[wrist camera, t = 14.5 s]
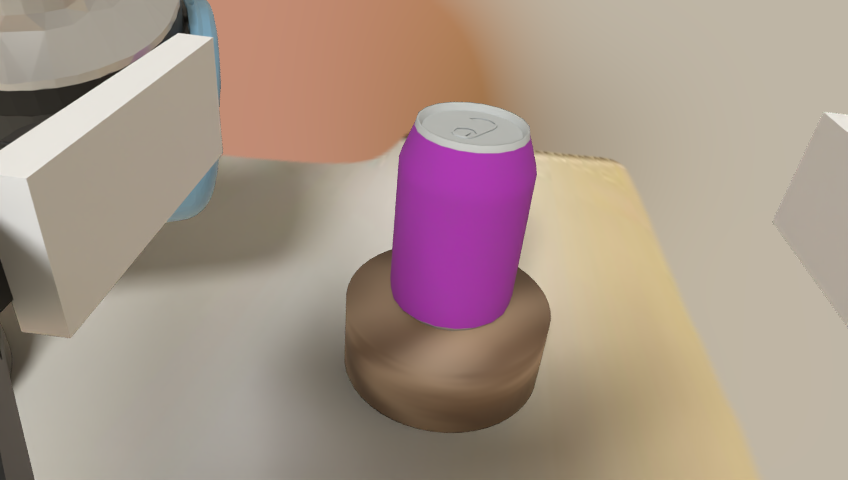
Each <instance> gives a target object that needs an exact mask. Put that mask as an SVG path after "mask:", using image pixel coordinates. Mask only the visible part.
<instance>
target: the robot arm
mask: <svg viewBox="0 0 848 480" xmlns="http://www.w3.org/2000/svg"><path fill="white" fill-rule="evenodd" d="M219 61H220V60H219V47H218V37H217V30H216V25H215V21H214V15H213V12H212V9H211V7H210V4H209V3H208V2H207V0H0V312H1V311H2V310H3V309H4V308H5V307H6V306H7V305H8V304H9V303H10V302H11V301H12V305H13V308H14V311H15V314H16V317H17V320H18V323H19V326H20V329H21V332H27V333H34V334H42V335H49V336H57V337H64V338H71V337H72V336H73V335H74V334H75V332H76V331H77V330H78V329H79V328H80V326H81V325H82V324H83V323H84V322H85V320H86V319H87V318H88V317H89V315H90V314H91V313H92V312H93V311H94V309H95V308H96V307H97V306H98V304H99V303H100V302H101V301H102V300H103V298H104V297H105V296H106V295H107V294H108V292H109V291H110V290H111V289H112V287H113V286H114V285H115V284H116V283H117V281H118V280H119V279H120V278H121V276H122V275H123V274H124V273H125V272H126V270H127V269H128V268H129V267H130V266H131V264H132V263H133V262H134V261H135V259H136V258H137V257H138V256H139V255H140V253H141V252H142V251H143V250H144V248H145V247H146V246H147V245H148V244H149V242H150V241H151V240H152V239H153V238H154V236H155V235H156V234H157V233H158V231H159V230H160V229H161V228H162V227H163V225H164V224H165V223H166V222H172V221H180V220H185V219H189V218H191V217H193V216H195V215H197V214H198V213H200V212H201V211H202V210H203V209H204V208H205V207H206V205H207V204H208V202H209V201H210V199H211V196H212V194H213V190H214V187H215V183H216V177H217V170H218V161H219V157H220V156H221V155H222V154H223V147H222V136H221V124H220V112H219V107H220V89H221V81H220V62H219ZM772 222H773V224H774V225H775V227H776V228H777V230H778V231H779V232H780V234H781V235H782V237H783V238H784V239H785V241H786V242H787V243H788V245H789V246H790V248H791V249H792V250H793V252H794V253H795V255H796V256H797V257H798V259H799V260H800V262H801V263H802V264H803V266H804V267H805V269H806V270H807V271H808V273H809V274H810V276H811V277H812V278H813V280H814V281H815V283H816V284H817V285H818V287H819V288H820V290H821V291H822V292H823V294H824V295H825V297H826V298H827V299H828V301H829V302H830V304H831V305H832V306H833V308H834V309H835V311H836V312H837V313H838V315H839V316H840V317H841V319H842V320H843V322H844V323H845V325H846V326H847V327H848V115H845V114H837V113H829V112H823V114H822V116H821V118H820V120H819V122H818V124H817V127H816V129H815V131H814V133H813V135H812V137H811V139H810V142H809V144H808V146H807V148H806V150H805V152H804V155H803V157H802V159H801V161H800V163H799V165H798V167H797V170H796V172H795V174H794V176H793V179H792V180H791V183H790V185H789V187H788V189H787V191H786V193H785V196H784V198H783V200H782V202H781V204H780V206H779V208H778V211H777V213H776V215H775V217H774V219H773V221H772ZM11 367H12V356H11V351H10V348H9V345H8V342H7V339H6V336H5V333H4V330H3V327H2V325H1V323H0V480H34V476H33V471H32V467H31V463H30V459H29V455H28V450H27V446H26V442H25V438H24V434H23V430H22V425H21V421H20V417H19V413H18V409H17V405H16V400H15V396H14V392H13V388H12V384H11V379H10V372H11Z"/></svg>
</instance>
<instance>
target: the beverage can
mask: <svg viewBox="0 0 848 480" xmlns="http://www.w3.org/2000/svg"><path fill="white" fill-rule="evenodd" d="M536 175H537V171H536V162H535V157H534V152H533V146H532V141H531V136H530V126H529V125H528V124H527V123H526V122H525V120H524V119H522V118H521V117H519V116H517V115H516V114H514V113H512V112H509V111H507V110H504V109H502V108H498V107H494V106H490V105H486V104H479V103H471V102H447V103H438V104H435V105H431V106H428V107H425V108H424V109H423V110H421V111H420V112H419V113H418V116H417V118H416V121H415V123H414V125H413V127H412V129H411V131H410V133H409V135H408V137H407V139H406V141H405V143H404V145H403V147H402V150H401V152H400V155H399V165H398V179H397V193H396V206H395V220H394V234H393V247H392V261H391V275H390V281H391V290H392V294H393V298H394V300H395V301H396V302H397V303H398V305H399V306H400V307H401V309H402V310H404V311H405V312H406V313H408V314H409V315H410V316H412V317H413V318H415V319H416V320H418V321H419V322H421V323H422V324H425V325H428V326H430V327H433V328H436V329H441V330H448V331H464V330H471V329H474V328H477V327H480V326H483V325H485V324H489V323H491V322H493V321H494V320H496V319H497V318H499V317H500V316H501V315H503V313H504V312H505V310H506V308H507V307H508V305H509V303H510V300H511V297H512V294H513V289H514V284H515V279H516V274H517V269H518V264H519V259H520V254H521V249H522V244H523V239H524V234H525V229H526V224H527V220H528V215H529V210H530V205H531V200H532V195H533V190H534V185H535V180H536Z"/></svg>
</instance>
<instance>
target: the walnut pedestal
mask: <svg viewBox="0 0 848 480" xmlns="http://www.w3.org/2000/svg"><path fill="white" fill-rule="evenodd" d="M391 261H392V250H389V251H386V252H384V253H382V254H379V255H377V256H375V257H374V258H372V259H370V260H369V261H367V262H366V263H365V264H363V265H362V266H361V267H360V268H359V269H358V270H357V271H356V273H355V274H354V276H353V277H352V278H351V281H350V283H349V285H348V289H347V293H346V325H345V367H346V371H347V374H348V377H349V379H350V381H351V383H352V385H353V387H354V388H355V390H356V391H357V392H358V393H359V395H360V396H361V397H362V398H363V399H364V400H365V401H366V402H367V403H368V404H369V405H370V406H372V407H373V408H374V409H376V410H377V411H379V412H380V413H382V414H383V415H385V416H387V417H389V418H391V419H392V420H395V421H397V422H400V423H402V424H404V425H407V426H411V427H414V428H417V429H422V430H427V431H433V432H444V433H459V432H469V431H476V430H480V429H484V428H488V427H490V426H493V425H496V424H498V423H500V422H502V421H504V420H506V419H508V418H509V417H511V416H512V415H513V414H515V413H516V412H517V411H519V410H520V408H521V407H522V406H523V405H524V404H525V403H526V402H527V400H528V399H529V397H530V396H531V393H532V391H533V389H534V386H535V382H536V378H537V374H538V370H539V366H540V362H541V358H542V354H543V350H544V346H545V342H546V338H547V334H548V330H549V325H550V321H551V315H550V308H549V303H548V301H547V299H546V296H545V294H544V293H543V291H542V290H541V288H540V287H539V286H538V285H537V283H536V282H535V281H534V280H533V279H532V278H531V277H530V276H529V275H528V274H526V273H525V272H524V271H522V270H521V269H520V268H518V269H517V274H516V279H515V284H514V289H513V294H512V297H511V300H510V303H509V305H508V307H507V308H506V310H505V312H504V313H503V315H501V316H500V317H499V318H497V319H496V320H494V321H493V322H491V323H489V324H485V325H483V326H480V327H477V328H474V329H471V330H464V331H448V330H441V329H436V328H433V327H430V326H428V325H425V324H422V323H421V322H419V321H418V320H416V319H415V318H413V317H412V316H410V315H409V314H408V313H406V312H405V311H404V310H402V309H401V307H400V306H399V305H398V303H397V302H396V301H395V300H394V298H393V294H392V290H391V281H390V275H391Z"/></svg>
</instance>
